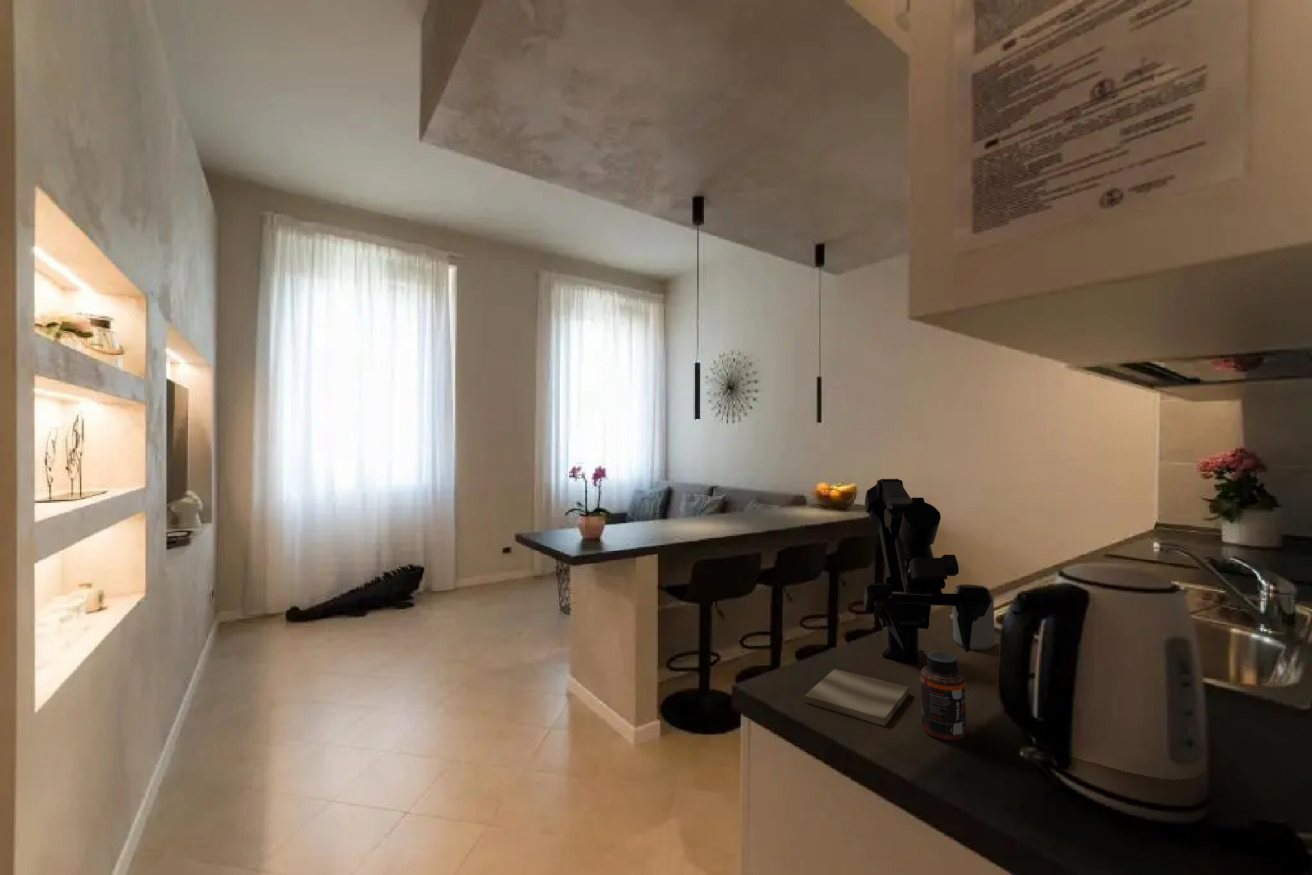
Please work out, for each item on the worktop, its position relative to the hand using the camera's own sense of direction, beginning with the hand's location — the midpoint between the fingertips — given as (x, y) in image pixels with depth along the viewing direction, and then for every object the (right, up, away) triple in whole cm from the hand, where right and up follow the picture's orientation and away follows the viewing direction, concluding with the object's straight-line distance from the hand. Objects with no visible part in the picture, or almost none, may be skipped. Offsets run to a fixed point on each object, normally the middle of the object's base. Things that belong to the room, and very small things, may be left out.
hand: (935, 649), depth 88 cm
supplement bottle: (-1, -11, -4) cm, 12 cm away
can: (+22, -10, +29) cm, 38 cm away
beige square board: (-10, -11, +7) cm, 16 cm away
